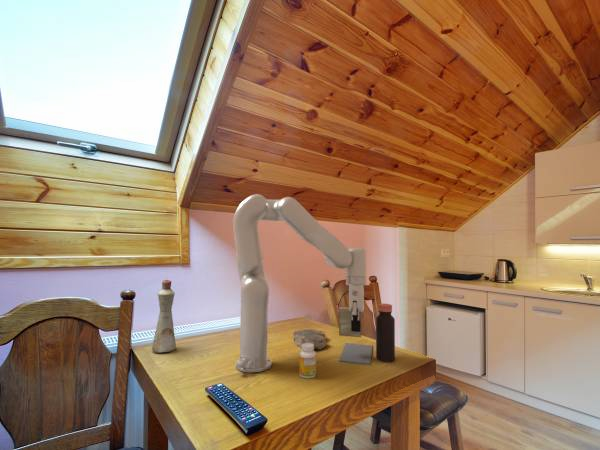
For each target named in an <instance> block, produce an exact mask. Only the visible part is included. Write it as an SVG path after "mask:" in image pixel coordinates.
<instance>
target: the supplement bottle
mask: <svg viewBox="0 0 600 450" xmlns="http://www.w3.org/2000/svg"><path fill="white" fill-rule="evenodd" d="M298 374H299V376H300V377H301V378H303V379H313V378H315V377H316V374H317V354H316V351H315V349H314V344H312V343H304V344H302V348H301V351H299V373H298Z"/></svg>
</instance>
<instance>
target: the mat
mask: <svg viewBox="0 0 600 450" xmlns="http://www.w3.org/2000/svg"><path fill="white" fill-rule="evenodd" d="M372 351H373V345H371V344H362V343H361V344H360V343H350V342H349V343H348V342H345V343H344V347H343V349H342V352H341V355H340V357H339V362H340V363H347V364H357V365H364V366H371V363H372V353H373V352H372Z"/></svg>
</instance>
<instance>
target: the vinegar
mask: <svg viewBox="0 0 600 450" xmlns="http://www.w3.org/2000/svg"><path fill="white" fill-rule="evenodd" d="M378 312H379V314H378V315H377V316H376V317H375V318H376V319H375V323H376V324H375V334H376V335H375V340H376V341H375V347H376V348H375V357H376V359H377V360H379V361H380V362H383V363H392V362H394V361H395V360H396V351H395V350H396V344H395V343H396V341H395V340H396V338H395V337H396V336H395V335H396V334H395V333H396V332H395V331H396V329H395V327H396V326H395V317H394V316H393V315H392V313H393V305H392V304H390V303H379V304H378Z"/></svg>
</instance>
